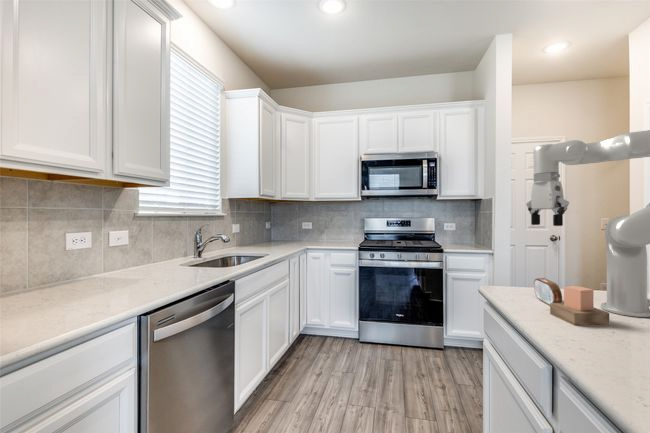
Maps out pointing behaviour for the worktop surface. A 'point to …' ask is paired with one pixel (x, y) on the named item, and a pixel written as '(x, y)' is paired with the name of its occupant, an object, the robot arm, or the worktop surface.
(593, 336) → the worktop surface
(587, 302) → the salmon pink block
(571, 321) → the walnut base
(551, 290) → the tin
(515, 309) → the worktop surface
